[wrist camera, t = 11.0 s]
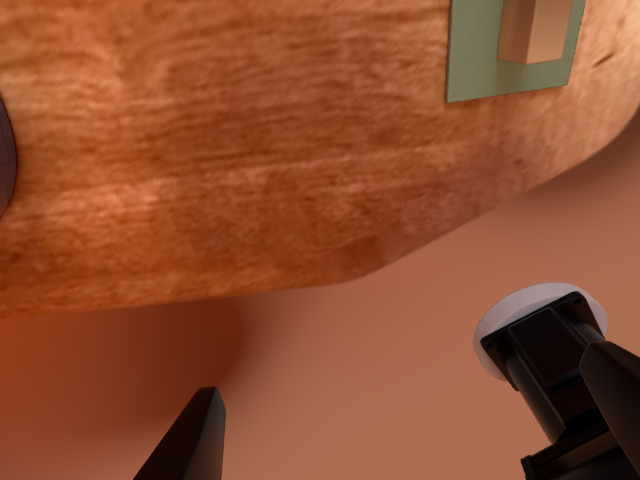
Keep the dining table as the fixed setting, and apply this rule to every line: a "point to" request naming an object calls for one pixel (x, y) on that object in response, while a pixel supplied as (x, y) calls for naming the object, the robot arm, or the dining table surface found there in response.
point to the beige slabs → (533, 30)
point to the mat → (482, 50)
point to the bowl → (6, 160)
